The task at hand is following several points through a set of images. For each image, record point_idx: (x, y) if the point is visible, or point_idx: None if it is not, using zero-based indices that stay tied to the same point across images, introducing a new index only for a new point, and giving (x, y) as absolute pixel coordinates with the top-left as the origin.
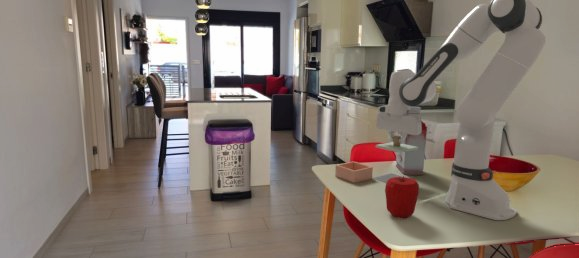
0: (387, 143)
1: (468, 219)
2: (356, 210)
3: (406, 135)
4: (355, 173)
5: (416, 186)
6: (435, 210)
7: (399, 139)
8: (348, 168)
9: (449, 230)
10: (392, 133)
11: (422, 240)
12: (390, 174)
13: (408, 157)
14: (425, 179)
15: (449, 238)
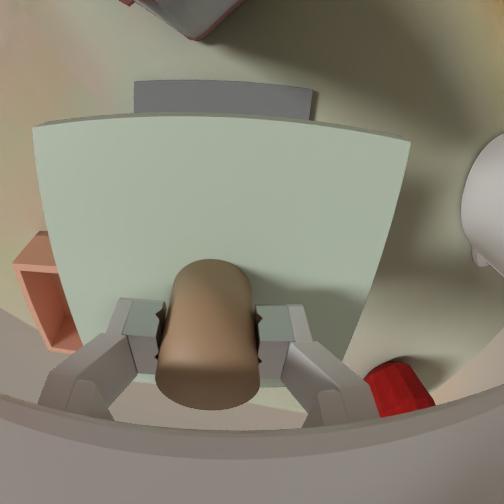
0: (70, 267)
1: (497, 285)
2: (298, 410)
3: (362, 395)
4: None
5: None
6: (443, 300)
7: (265, 376)
8: (41, 282)
9: (464, 346)
10: (88, 383)
11: (428, 392)
12: (144, 104)
13: (204, 10)
14: (315, 7)
15: (461, 363)
